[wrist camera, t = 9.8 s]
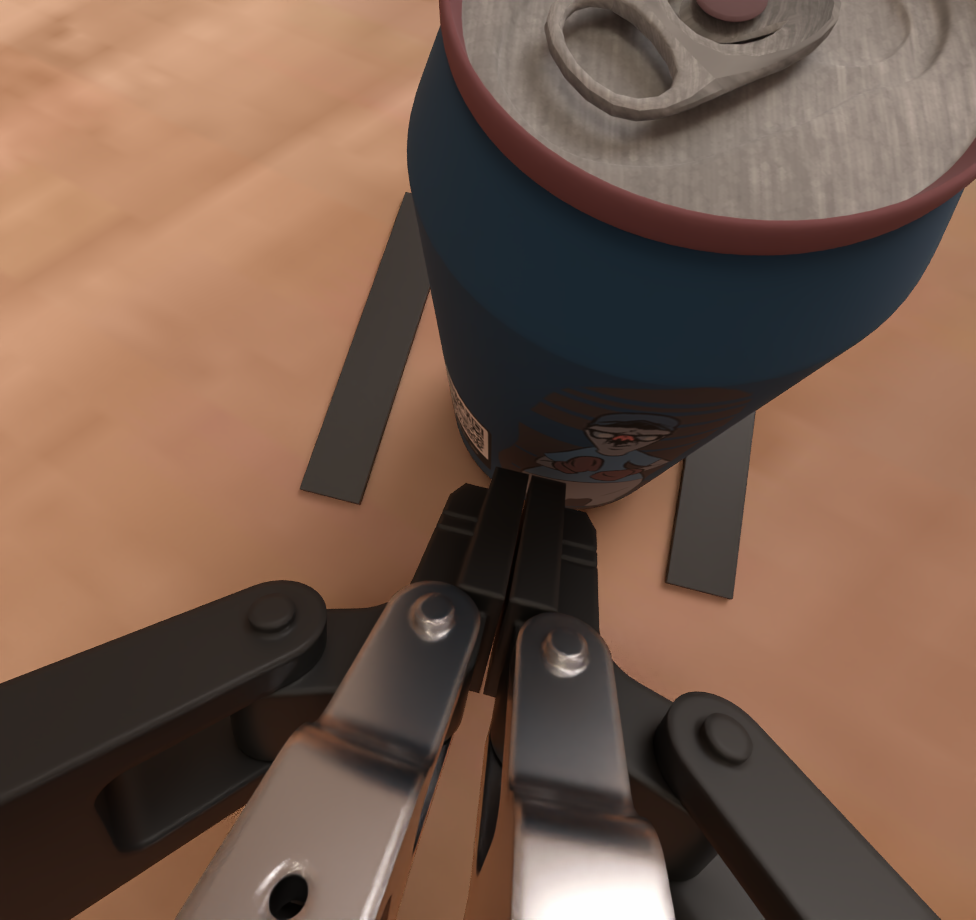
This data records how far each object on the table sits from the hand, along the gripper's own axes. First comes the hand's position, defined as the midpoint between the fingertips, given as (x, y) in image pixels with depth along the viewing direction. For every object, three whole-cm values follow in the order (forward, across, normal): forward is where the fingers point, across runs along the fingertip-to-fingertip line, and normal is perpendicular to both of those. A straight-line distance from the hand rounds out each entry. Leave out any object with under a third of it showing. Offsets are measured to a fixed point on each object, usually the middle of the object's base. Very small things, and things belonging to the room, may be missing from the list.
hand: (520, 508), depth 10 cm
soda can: (+7, -1, +1) cm, 7 cm away
